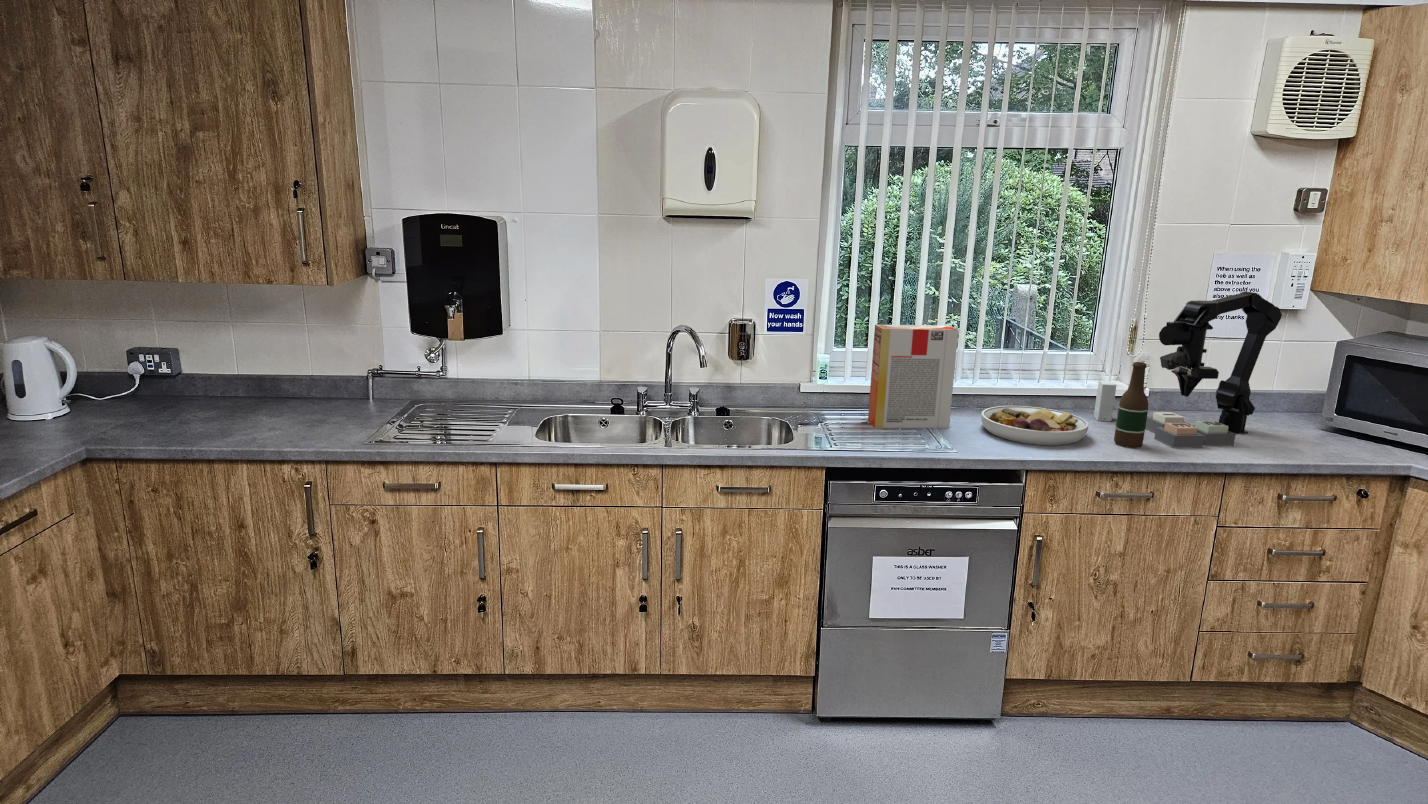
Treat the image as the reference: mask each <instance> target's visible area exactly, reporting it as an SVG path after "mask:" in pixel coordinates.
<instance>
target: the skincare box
mask: <svg viewBox="0 0 1428 804" xmlns="http://www.w3.org/2000/svg"><path fill="white" fill-rule="evenodd" d="M1116 390H1117V384H1116V383H1115V382H1114V381H1110V380H1098V383H1097V390H1096V399H1095V405H1094V413H1093V417H1094V418H1095V419H1096V420H1097V421H1099V422H1112V419H1113V412H1114V407H1115V406H1114V405H1115V398H1116Z"/></svg>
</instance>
